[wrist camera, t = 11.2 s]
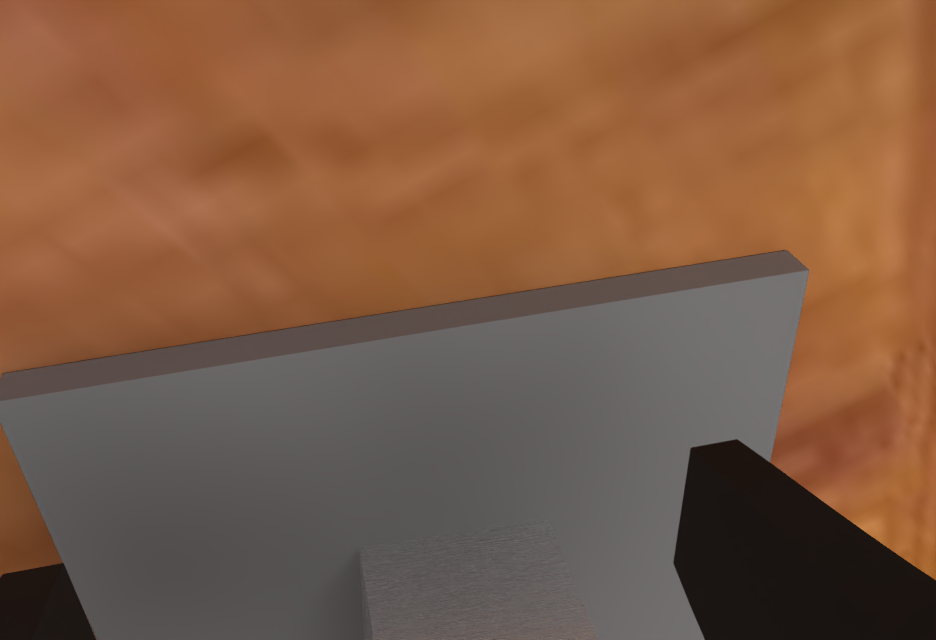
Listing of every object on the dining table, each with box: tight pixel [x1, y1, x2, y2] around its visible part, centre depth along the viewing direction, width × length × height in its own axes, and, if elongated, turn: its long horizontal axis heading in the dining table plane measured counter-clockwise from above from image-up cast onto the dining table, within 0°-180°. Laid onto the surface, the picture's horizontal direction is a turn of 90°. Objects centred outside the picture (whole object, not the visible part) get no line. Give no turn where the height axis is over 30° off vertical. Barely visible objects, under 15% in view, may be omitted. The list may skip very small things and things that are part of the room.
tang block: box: [0, 250, 809, 640], centre depth 23 cm, size 18×18×4 cm
